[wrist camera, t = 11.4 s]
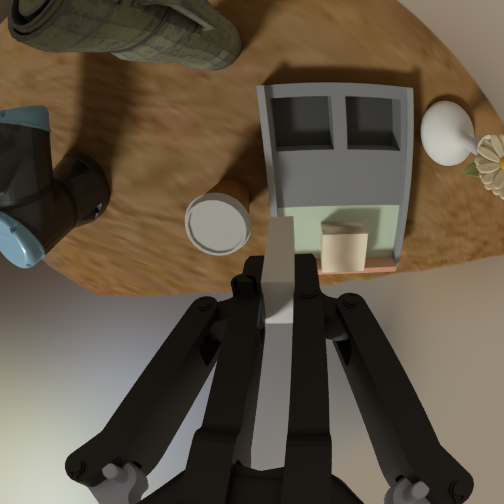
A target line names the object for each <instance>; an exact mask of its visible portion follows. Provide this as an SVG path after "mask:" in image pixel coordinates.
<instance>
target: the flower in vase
mask: <svg viewBox="0 0 504 504" xmlns="http://www.w3.org/2000/svg"><path fill="white" fill-rule="evenodd" d="M421 139H422V143H423V146H424V148H425V151H426V152H427V154H428V155H429V156H430V158H432V159H433V160H434V161H435V162H437V163H439V164H441V165H445V166H452V165H457V164H459V163H461V162H462V161H464V160H465V159H466V158H467V157H468V155H469V154H470V152H472V153H473V154H475V155H476V157H475V159H474V161H475V162H473V163H471V164H470V165H469V166H468V167H467V168H466V170H465V171H464V174H463V175H468V176H475V177H480V178H481V180H482V182H483V183H484V187H485V188H486V189H487V190H491V189H492V190H493V193H494V194H495V195H499V194H500V197H501V198H502V199H504V135H503V134H500V135H499V136H498V137H497V136H496V135H494V134H493V135H486V136H484V137H483V138H482V139H478V138H474V129H473V125H472V122H471V120H470V118H469V116H468V115H467V113H466V112H465V111H464V110H463V109H462V108H461V107H460V106H459V105H457V104H456V103H453V102H451V101H439V102H437V103H435V104H433V105H432V106H430V107H429V109H428V110H427V111H426V113H425V114H424V117H423V119H422V123H421Z"/></svg>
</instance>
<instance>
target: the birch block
mask: <svg viewBox="0 0 504 504" xmlns="http://www.w3.org/2000/svg"><path fill="white" fill-rule="evenodd" d="M367 239H368V232H367V230H366V228H365V226H364V224H363V221H356V222H322V223H321V248H320V260H321V267H322V273H328V272H352V271H364V265H365V257H366V249H367Z"/></svg>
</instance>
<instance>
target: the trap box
mask: <svg viewBox="0 0 504 504" xmlns="http://www.w3.org/2000/svg"><path fill="white" fill-rule="evenodd" d="M256 88H257V96H258V104H259V112H260V120H261V129H262V137H263V146H264V155H265V164H266V173H267V182H268V192H269V201H270V211H271V217H282V216H293V219H294V239H295V254H308V253H312V254H313V255H314V256H315V258H316V260H317V269H318V275H321V274H347V273H370V272H390V271H396V267H397V266H398V265H399V260H400V255H401V249H402V244H403V238H404V232H405V226H406V219H407V211H408V204H409V195H410V185H411V174H412V160H413V136H414V102H413V88H408V87H398V86H389V85H378V84H363V83H291V84H276V85H262V86H256ZM356 221H363V224H364V226H365V228H366V230H367V232H368V239H367V249H366V257H365V265H364V271H352V272H328V273H322V267H321V260H320V248H321V223H322V222H356Z"/></svg>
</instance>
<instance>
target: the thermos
mask: <svg viewBox="0 0 504 504" xmlns="http://www.w3.org/2000/svg"><path fill="white" fill-rule="evenodd" d="M219 13H220V11H218V10H217V9H216V8H214V7H213V6H212V5H211V4H210V3H209V2H208V1H207V0H11V5H10V9H9V14H8V29H9V31H10V34H11V36H12V37H13V38H14V39H16V40H17V41H19V42H22V43H24V44H27V45H29V46H31V47H34V48H36V49H39V50H42V51H45V52H56V53H59V52H101V53H103V52H110V53H112V54H113V55H115V56H116V57H118V58H119V59H123V60H128V61H133V62H147V63H158V64H159V63H171V62H174V61H175V62H180V63H181V64H183V65H184V66H187V67H191V68H194V69H199V70H219V69H223V68H225V67H227V66H229V65H231V64H232V63H233V62H234V61H235V60H236V59H237V58H238V56H239V54H240V52H241V50H242V39H241V35H240V34H239V32H238V30H237V29H236V28H235V26H234V25H233V24H232V23H231V22H230V21H229V20H228V19H227V18H226V17H224V16H223V15H221V14H219Z"/></svg>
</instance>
